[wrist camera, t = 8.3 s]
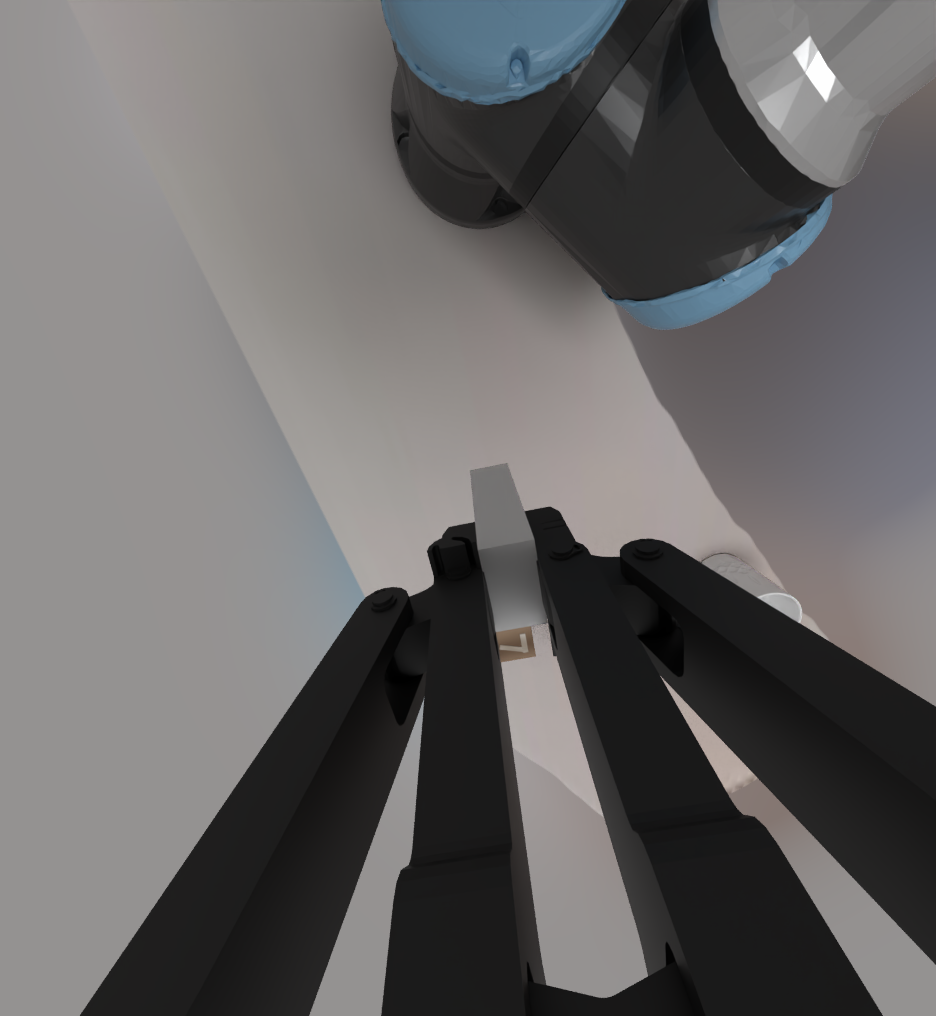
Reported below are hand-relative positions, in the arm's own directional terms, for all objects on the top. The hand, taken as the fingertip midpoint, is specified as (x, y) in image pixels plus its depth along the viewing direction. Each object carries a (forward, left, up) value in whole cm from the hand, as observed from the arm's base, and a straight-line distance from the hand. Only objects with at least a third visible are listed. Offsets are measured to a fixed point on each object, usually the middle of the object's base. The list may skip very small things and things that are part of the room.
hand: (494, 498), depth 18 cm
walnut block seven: (+24, +20, -32) cm, 45 cm away
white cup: (+5, +41, -33) cm, 52 cm away
